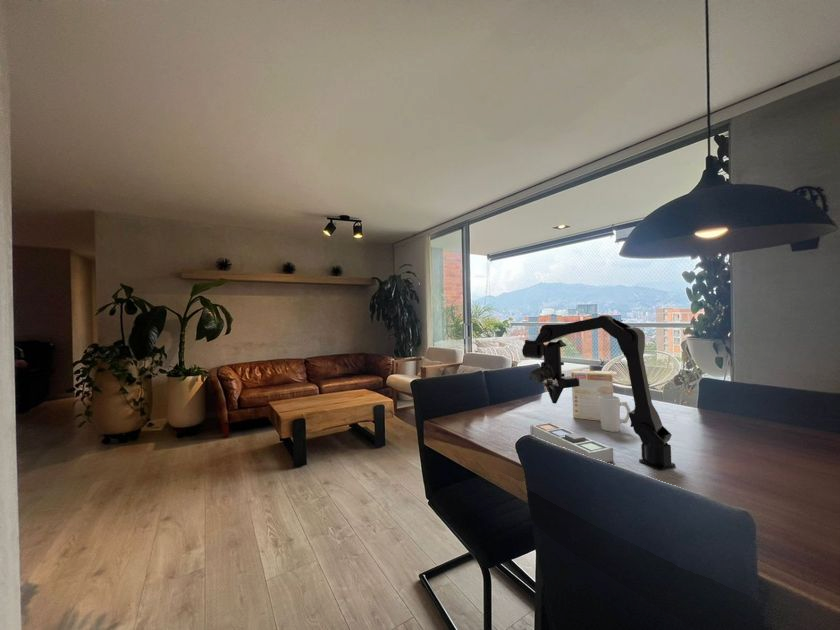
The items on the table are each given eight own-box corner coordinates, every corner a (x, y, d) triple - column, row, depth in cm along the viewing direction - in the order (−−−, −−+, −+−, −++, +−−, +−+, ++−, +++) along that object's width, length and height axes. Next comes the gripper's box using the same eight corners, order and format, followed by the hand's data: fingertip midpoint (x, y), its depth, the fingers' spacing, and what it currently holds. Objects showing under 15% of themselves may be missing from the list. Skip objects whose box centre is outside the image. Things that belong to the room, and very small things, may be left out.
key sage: (602, 455, 103) (602, 447, 103) (591, 458, 101) (591, 450, 101) (591, 450, 107) (591, 443, 107) (580, 452, 105) (580, 445, 105)
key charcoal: (585, 444, 109) (585, 436, 109) (574, 446, 108) (574, 438, 108) (575, 440, 113) (575, 432, 113) (565, 442, 112) (564, 434, 112)
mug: (599, 430, 128) (598, 398, 128) (600, 425, 134) (599, 394, 134) (631, 434, 123) (630, 401, 123) (630, 428, 129) (629, 397, 129)
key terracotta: (556, 434, 121) (556, 428, 121) (546, 436, 120) (546, 429, 120) (548, 431, 125) (548, 424, 125) (538, 432, 124) (538, 426, 124)
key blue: (570, 441, 115) (570, 434, 115) (560, 443, 114) (559, 435, 114) (561, 437, 119) (561, 430, 119) (551, 438, 118) (551, 431, 118)
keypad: (613, 461, 102) (613, 447, 102) (589, 466, 99) (589, 453, 99) (550, 432, 128) (550, 422, 128) (530, 436, 125) (530, 425, 125)
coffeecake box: (614, 418, 142) (612, 371, 142) (613, 423, 136) (612, 373, 136) (575, 413, 150) (573, 369, 150) (572, 418, 144) (571, 371, 144)
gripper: (517, 358, 128) (519, 400, 128) (552, 364, 111) (554, 412, 110) (541, 356, 132) (543, 397, 132) (579, 361, 114) (581, 408, 114)
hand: (554, 403), depth 122 cm, fingers closed
